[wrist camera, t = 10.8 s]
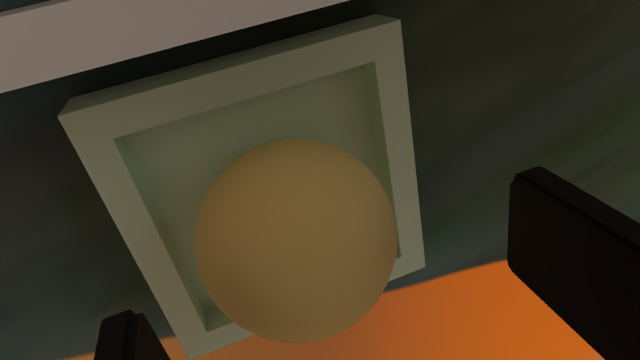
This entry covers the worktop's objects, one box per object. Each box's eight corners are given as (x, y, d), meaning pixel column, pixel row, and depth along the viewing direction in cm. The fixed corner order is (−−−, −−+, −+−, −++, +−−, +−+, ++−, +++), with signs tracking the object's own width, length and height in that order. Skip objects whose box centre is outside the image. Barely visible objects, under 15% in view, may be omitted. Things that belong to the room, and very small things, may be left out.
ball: (338, 90, 15) (428, 160, 10) (364, 229, 18) (442, 339, 13) (162, 143, 14) (157, 252, 9) (221, 281, 17) (243, 423, 12)
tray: (375, 13, 15) (400, 19, 13) (405, 243, 20) (425, 266, 18) (70, 98, 13) (56, 116, 11) (187, 326, 18) (189, 360, 16)
